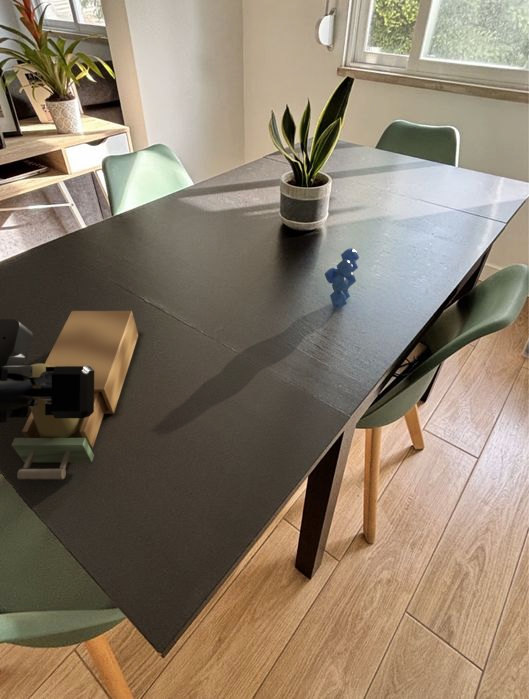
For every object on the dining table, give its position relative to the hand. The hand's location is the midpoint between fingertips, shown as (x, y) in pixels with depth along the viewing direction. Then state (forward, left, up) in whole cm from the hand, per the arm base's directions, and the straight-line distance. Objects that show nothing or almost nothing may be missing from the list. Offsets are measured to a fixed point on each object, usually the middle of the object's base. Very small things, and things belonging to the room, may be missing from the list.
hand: (48, 387), depth 60 cm
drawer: (+1, +1, -10) cm, 10 cm away
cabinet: (+11, +8, -11) cm, 17 cm away
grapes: (+55, -16, -11) cm, 59 cm away
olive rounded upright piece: (-1, -1, -7) cm, 7 cm away
